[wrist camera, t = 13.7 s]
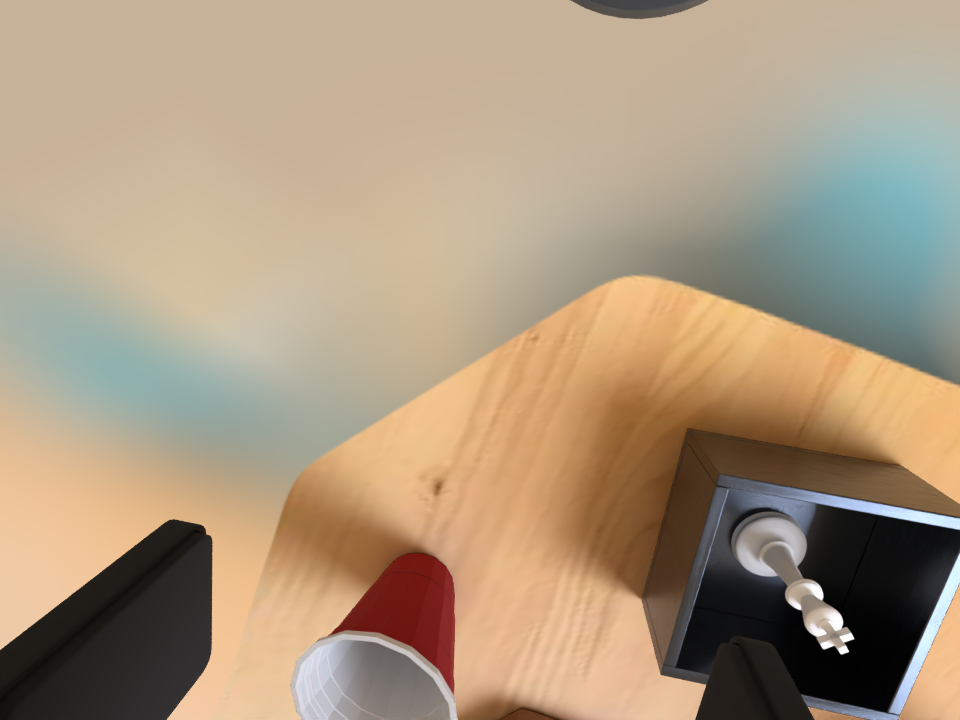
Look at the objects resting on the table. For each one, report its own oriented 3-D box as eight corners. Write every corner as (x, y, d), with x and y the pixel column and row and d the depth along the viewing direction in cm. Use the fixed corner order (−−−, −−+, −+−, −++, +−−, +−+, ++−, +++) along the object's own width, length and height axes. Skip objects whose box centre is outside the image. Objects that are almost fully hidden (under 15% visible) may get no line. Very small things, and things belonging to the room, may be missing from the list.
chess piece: (814, 555, 37) (908, 669, 28) (748, 581, 38) (815, 699, 29) (786, 500, 37) (872, 597, 27) (719, 527, 38) (779, 630, 28)
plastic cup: (336, 537, 43) (258, 652, 31) (460, 512, 41) (427, 626, 29) (377, 646, 45) (319, 791, 33) (498, 628, 43) (480, 776, 31)
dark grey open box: (687, 427, 37) (719, 473, 30) (903, 466, 36) (988, 522, 29) (641, 599, 41) (660, 675, 34) (835, 639, 39) (895, 726, 33)
